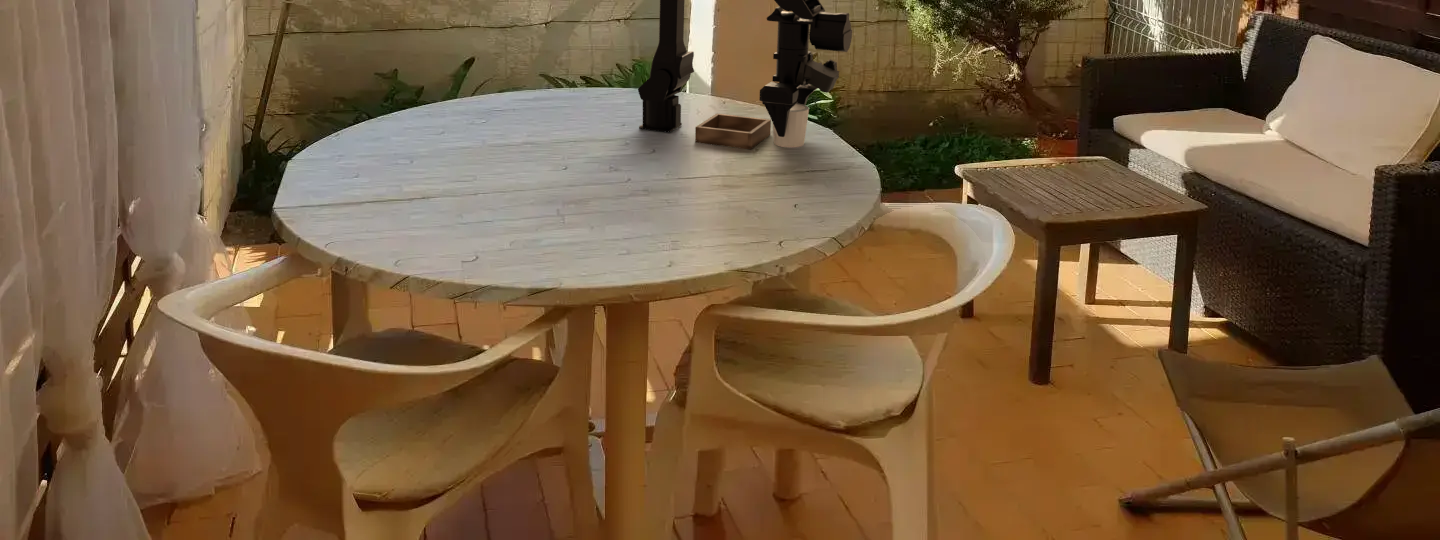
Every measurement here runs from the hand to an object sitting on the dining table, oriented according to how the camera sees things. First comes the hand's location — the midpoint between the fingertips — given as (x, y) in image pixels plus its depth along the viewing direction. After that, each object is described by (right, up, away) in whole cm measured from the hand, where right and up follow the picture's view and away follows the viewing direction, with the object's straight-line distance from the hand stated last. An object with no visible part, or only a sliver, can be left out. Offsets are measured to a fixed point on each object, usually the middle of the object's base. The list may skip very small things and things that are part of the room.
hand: (789, 130), depth 234 cm
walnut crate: (-10, -1, +3) cm, 11 cm away
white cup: (0, -2, +1) cm, 3 cm away
